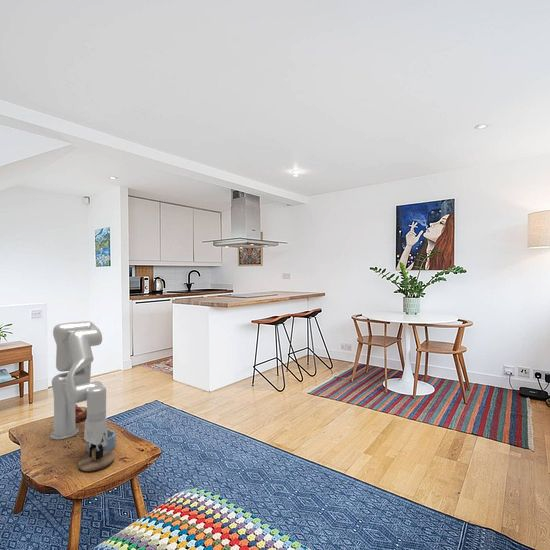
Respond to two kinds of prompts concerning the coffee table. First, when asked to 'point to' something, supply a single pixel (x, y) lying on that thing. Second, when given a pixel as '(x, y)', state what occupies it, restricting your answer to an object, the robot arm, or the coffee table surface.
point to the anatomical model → (80, 413)
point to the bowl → (108, 441)
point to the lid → (95, 461)
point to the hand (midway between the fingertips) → (96, 456)
